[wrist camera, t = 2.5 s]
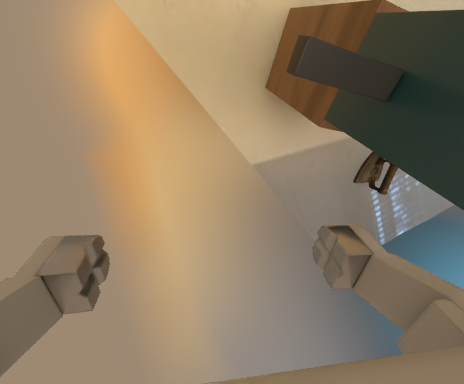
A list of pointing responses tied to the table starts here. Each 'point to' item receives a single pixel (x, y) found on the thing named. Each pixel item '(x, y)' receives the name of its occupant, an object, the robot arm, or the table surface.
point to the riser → (329, 30)
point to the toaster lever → (342, 68)
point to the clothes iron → (375, 173)
